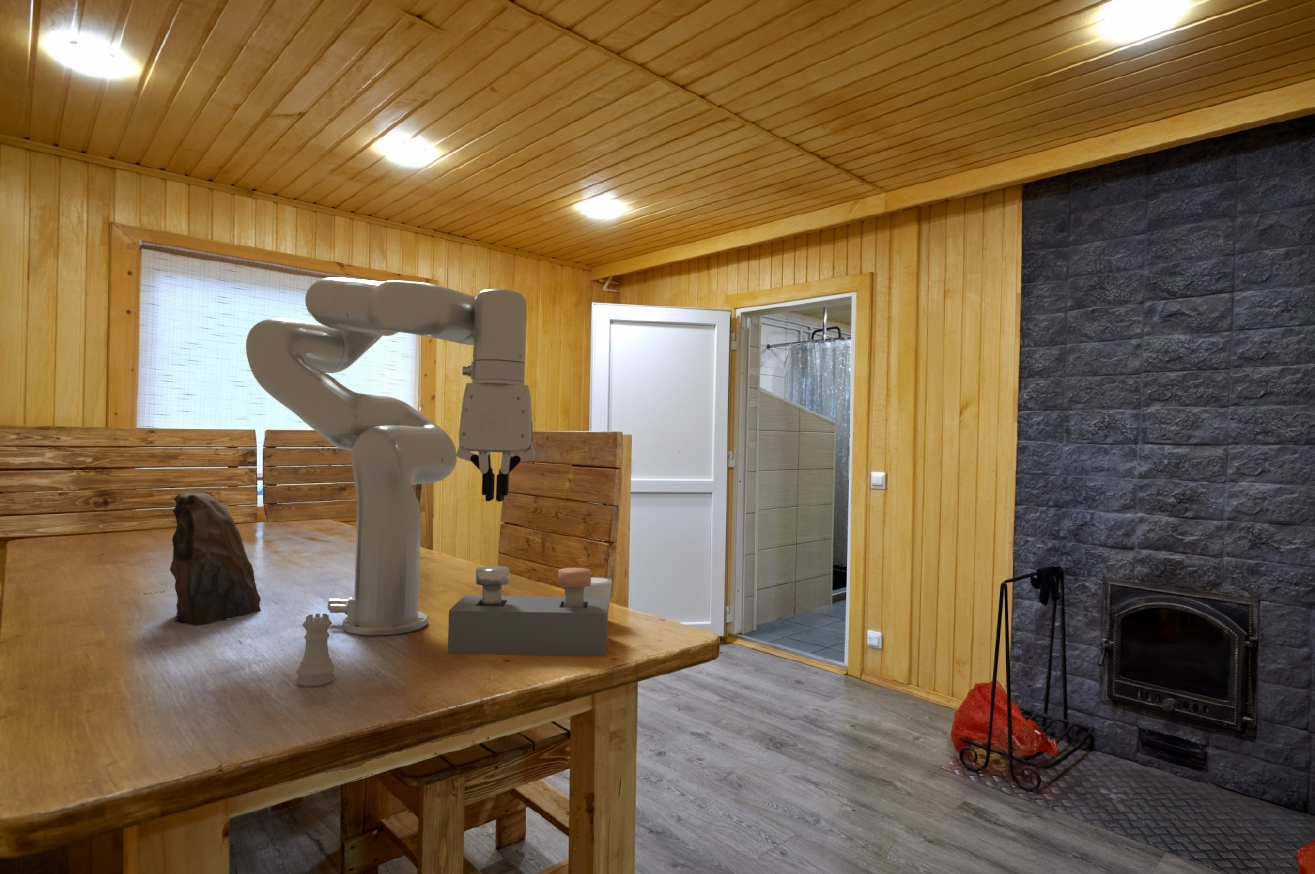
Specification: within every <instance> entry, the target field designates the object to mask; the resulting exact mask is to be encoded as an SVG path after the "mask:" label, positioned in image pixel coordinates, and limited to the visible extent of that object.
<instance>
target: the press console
mask: <svg viewBox="0 0 1315 874" xmlns="http://www.w3.org/2000/svg"><path fill="white" fill-rule="evenodd" d="M564 599H565V596H543V595H542V596H537V595H536V596H533V595H502V603H501V606H482V594H464V595H462V597H461V598H459V600H458V601H457V602H456V603H455V604H454V605H453V606H452V607H450V609H449V610H448V629H447V634H448V635H447V654H449V655H450V654H451V655H453V654H454V655H458V654H459V655H463V654H464V655H505V656H506V655H513V656H514V655H515V656H517V655H518V656H519V655H520V656H575V657H578V656H579V657H580V656H581V657H583V656H585V657H586V656H587V657H607V645H608V628H609V627H608V626H609V625H608V623H609V621H608V620H609V611H608V598H598V597H584V602H583V608H564Z"/></svg>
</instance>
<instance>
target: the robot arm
mask: <svg viewBox="0 0 1315 874" xmlns="http://www.w3.org/2000/svg"><path fill="white" fill-rule="evenodd" d="M305 293H306V294H305V300H304V301H305V302H304V303H305V307H306V310H307V311H308V313H309V314H310V316H311V317H312V318H313V319H314V321H316V322H318V323H316V322H311V321H306V320H301V319H295V318H288V317H287V318H286V317H274V318H273V317H272V318H266V319H263V320H260V321H259V322H257V323H255V325H253V326H252V327H251V328H250V330H249V331H248V334H247V337H246V340H245V352H246V359H247V362H248V366H249V369H250V371H251V373H252V375H253V377H254V379H255V380H256V381H257V383H258V384H259V385H260V387H262V389H263V390H264V391H265V392H266V393H267V394H268V395H269V396H271V397H272V398H273V399H275V400H276V401H277V402H278V403H280V404H281V405H283V406H284V407H285V408H287V409H288V410H289V411H291V412H292V413H294V415H296V416H297V417H298V418H299V419H300V420H301V421H303V422H304V423H305V424H307V425H308V426H309V427H310V428H311V429H313V430H314V431H315V432H316V433H318V434H319V435H320V436H321V437H322V438H323V439H325V440H326V441H327V442H329V443H330V444H332V445H333V446H334V447H336V448H337V449H341V450H345V451H351V454H350V455H351V456H350V457H351V467H352V473H353V478H354V483H355V484H354V485H355V494H356V497H355V498H356V524H355V525H356V531H355V532H356V541H355V565H354V567H355V569H354V595H353V596H351V597H349V598H347V599H345V598H344V599H343V598H329V599H328V602H327V611H329V613H330V614H341V613H343V614H344V615H346V617H345V618H344V619H342V629H343V630H344V631H345V632H347V633H351V634H353V635H361V636H390V635H397V634H398V635H400V634H406V633H410V632H414V631H417V630H420V629H422V628H424V627H425V626H427V625H428V622H429V620H428V619H429V616H428V614H427V613H425V612H423V611H420V610H419V593H420V592H419V589H420V587H419V586H420V564H421V563H420V562H421V560H420V559H421V557H420V555H421V554H420V553H421V521H422V518H421V517H422V515H421V513H422V512H421V506H420V503H419V500H418V498H417V495H416V492H415V490H414V488H413V485H423V484H424V485H427V484H434V483H438V482H440V481H443V480H444V479H447V478H448V477H449V476H450V475H451V474H452V473H453V471H454V470H455V467H456V465H457V461H458V459H457V458H459V459H461V460H465V461H468V462H471V463H472V464H473V465H474V466H475V467H476V468H477V469H478V470H479V472H480V473H481V474H482V475H481V477H482V479H481V496H485V500H484V501H485V502H491V501H494V499H495V501H497V502H500V503H501V502H503V501H504V500H505V496H506V497H507V496H509V486H510V485H509V483H510V473H511V472H512V471H513V470H515V468H517V466H518V465H519V464H521V463H525V462H529V461H532V460H534V459H536V453H535V449H534V446H533V411H532V410H533V409H532V408H533V407H532V398H531V392H530V391H531V390H530V386H529V385H528V384H525V382H526V381H525V379H526V377H525V376H526V375H525V374H526V353H527V352H526V350H527V347H526V344H527V343H526V342H527V315H528V313H527V311H528V308H527V307H528V306H527V305H528V303H527V300H526V297H525V295H523V294H522V293H521V292H519V291H516V290H511V289H503V288H487V289H483V290H481V291H479V292H478V293H477V294H476V296H475V295H472V294H469V293H465V292H461V291H458V290H455V289H452V288H448V287H445V286H442V285H438V284H432V283H427V282H420V281H419V282H418V281H409V280H395V279H391V280H390V279H389V280H386V281H382V280H381V281H380V280H379V281H378V280H368V279H359V278H358V279H357V278H350V277H349V278H348V277H339V276H338V277H334V276H333V277H330V276H329V277H325V278H321V279H318V280H317V281H314V283H312V284H311V285H310V287H308V289H307V291H306V292H305ZM398 333H404V334H411V335H416V336H417V335H418V336H422V337H428V338H432V339H433V338H434V339H438V340H443V341H447V342H452V343H456V344H459V345H460V344H461V345H468V346H473V348H472V349H473V351H472V361H471V364H470V365H467V366H462V370H461V371H462V376H467V377H470V379H471V380H472V381H471V382H466V384H465V388H464V393H463V397H462V403H461V410H460V418H459V419H460V421H459V429H458V430H459V431H458V448H457V449H456V446H455V443H454V442H453V440H452V438H451V436H449V434H448V433H447V432H446V431H445V430H443V428H441V427H440V426H439V425H437V424H436V423H435V422H433V421H432V420H430V419H429V418H428V417H426V416H425V415H424V414H423V413H421V412H420V411H418V410H417V409H415V408H414V407H413V406H411V405H410V404H408V403H407V402H406V401H405V402H404V401H403V400H400V399H398V398H395V397H391V396H385V395H377V394H367V393H362V392H361V393H359V392H355V391H353V390H351V389H349V388H348V387H346V386H345V385H343V384H342V383H340V382H339V381H338V380H337V379H335V378H334V377H333V376H332V375H330V374H335V373H340V372H342V371H344V370H347V369H348V368H349V367H351V366H352V365H353V364H354V363H355V362H356V361H358V360H359V358H361V357H362V356H363V355H364V354H365V353H366V352H367V351H368V350H369V349H370V348H372V346H374V345H375V344H376V343H377V342H378V341H379V340H380V339H381V338H382V337H383V336H384V337H390V336H393V335H396V334H398ZM474 452H478V454H476V453H474ZM491 453H502V454H501V463H500V468H499V469H498V474H495V473H494V471H493V470H494V469H493V468H492V457H491V455H492V454H491ZM515 453H521V454H517V455H514V454H515ZM495 477H496V478H495ZM495 479H496V482H495ZM495 484H496V485H495Z"/></svg>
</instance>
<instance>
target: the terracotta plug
mask: <svg viewBox="0 0 1315 874" xmlns="http://www.w3.org/2000/svg"><path fill="white" fill-rule="evenodd" d="M591 577H592V570H591V569H590V568H584V567H564V568H560V569H558V575H557V578H558V579H557V585H558V586H560V587H564V597H565V599H564V608H583V602H584V587H587V586H590V585H591Z"/></svg>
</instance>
